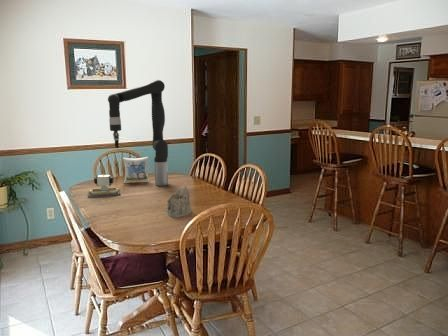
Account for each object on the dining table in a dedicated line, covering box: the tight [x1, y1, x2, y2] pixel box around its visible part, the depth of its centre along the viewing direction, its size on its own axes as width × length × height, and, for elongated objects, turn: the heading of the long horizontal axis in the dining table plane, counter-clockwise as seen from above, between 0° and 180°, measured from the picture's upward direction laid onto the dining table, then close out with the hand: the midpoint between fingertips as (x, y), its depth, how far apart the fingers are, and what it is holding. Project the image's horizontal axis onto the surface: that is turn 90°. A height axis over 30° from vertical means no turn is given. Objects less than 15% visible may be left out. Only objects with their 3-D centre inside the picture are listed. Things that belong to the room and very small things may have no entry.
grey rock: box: [165, 185, 192, 218], centre depth 211 cm, size 16×16×15 cm
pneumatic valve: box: [93, 173, 115, 192], centre depth 252 cm, size 6×12×12 cm, turn 96°
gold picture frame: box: [87, 186, 122, 199], centre depth 253 cm, size 20×14×3 cm
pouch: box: [122, 155, 150, 184], centre depth 286 cm, size 8×19×20 cm, turn 101°
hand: (116, 147), depth 264 cm, fingers open, 8 cm apart
